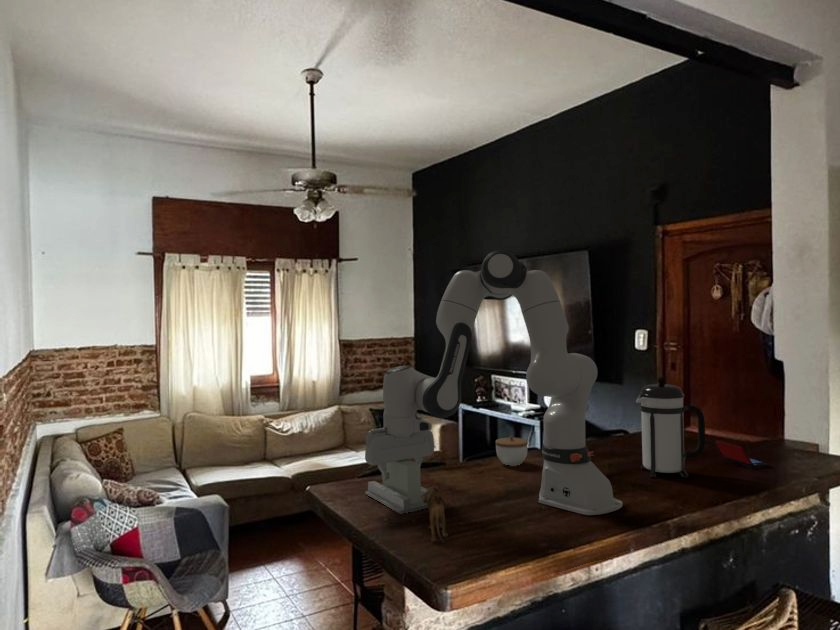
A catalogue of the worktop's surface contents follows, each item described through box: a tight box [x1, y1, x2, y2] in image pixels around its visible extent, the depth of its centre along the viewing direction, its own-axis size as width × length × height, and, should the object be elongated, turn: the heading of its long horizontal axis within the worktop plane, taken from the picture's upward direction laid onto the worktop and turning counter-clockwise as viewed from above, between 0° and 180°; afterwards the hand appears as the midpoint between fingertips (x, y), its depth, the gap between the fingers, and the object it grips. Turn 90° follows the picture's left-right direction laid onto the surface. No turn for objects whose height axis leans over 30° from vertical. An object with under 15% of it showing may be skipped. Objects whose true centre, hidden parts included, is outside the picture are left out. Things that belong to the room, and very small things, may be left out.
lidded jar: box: [495, 435, 529, 467], centre depth 196 cm, size 11×11×9 cm
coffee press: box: [635, 376, 706, 479], centre depth 181 cm, size 17×16×30 cm
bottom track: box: [364, 480, 428, 515], centre depth 159 cm, size 20×12×4 cm, turn 32°
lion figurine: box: [421, 486, 449, 543], centre depth 135 cm, size 15×5×9 cm, turn 11°
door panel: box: [381, 459, 422, 504], centre depth 159 cm, size 14×4×10 cm, turn 32°
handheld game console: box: [715, 439, 771, 470], centre depth 190 cm, size 12×11×7 cm
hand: (400, 476), depth 159 cm, fingers open, 8 cm apart
